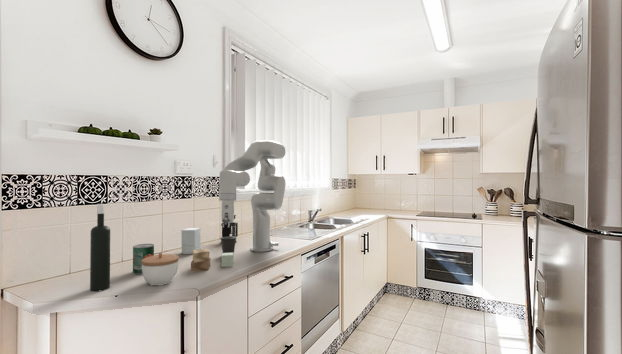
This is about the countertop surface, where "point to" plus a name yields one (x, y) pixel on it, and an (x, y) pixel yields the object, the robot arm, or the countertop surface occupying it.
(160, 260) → the lidded bowl
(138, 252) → the canned tomato
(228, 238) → the coffee cup
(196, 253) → the oak block
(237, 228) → the french press
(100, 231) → the wine bottle
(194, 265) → the walnut block
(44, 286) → the countertop surface
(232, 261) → the sage cube
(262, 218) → the robot arm
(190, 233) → the supplement box
